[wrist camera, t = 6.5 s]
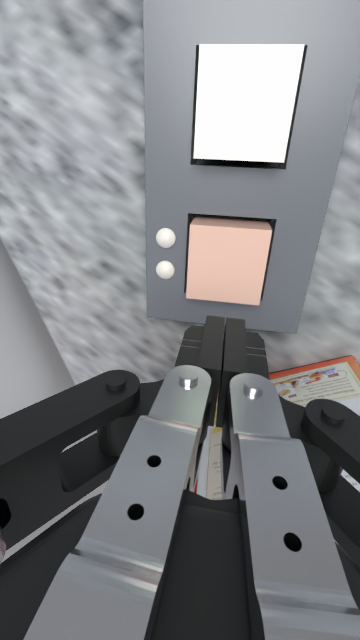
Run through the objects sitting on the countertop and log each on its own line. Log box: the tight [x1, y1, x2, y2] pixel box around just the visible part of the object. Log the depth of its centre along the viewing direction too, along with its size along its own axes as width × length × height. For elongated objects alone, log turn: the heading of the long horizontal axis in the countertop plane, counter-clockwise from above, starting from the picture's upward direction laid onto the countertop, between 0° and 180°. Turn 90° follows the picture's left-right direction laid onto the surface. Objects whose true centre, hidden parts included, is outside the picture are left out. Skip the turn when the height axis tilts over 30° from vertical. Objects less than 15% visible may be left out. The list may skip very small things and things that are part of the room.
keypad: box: [143, 0, 360, 334], centre depth 20 cm, size 12×29×3 cm, turn 178°
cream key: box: [193, 44, 305, 163], centre depth 18 cm, size 5×5×3 cm
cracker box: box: [196, 356, 360, 545], centre depth 22 cm, size 14×6×21 cm, turn 112°
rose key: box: [186, 217, 272, 305], centre depth 22 cm, size 5×5×3 cm
